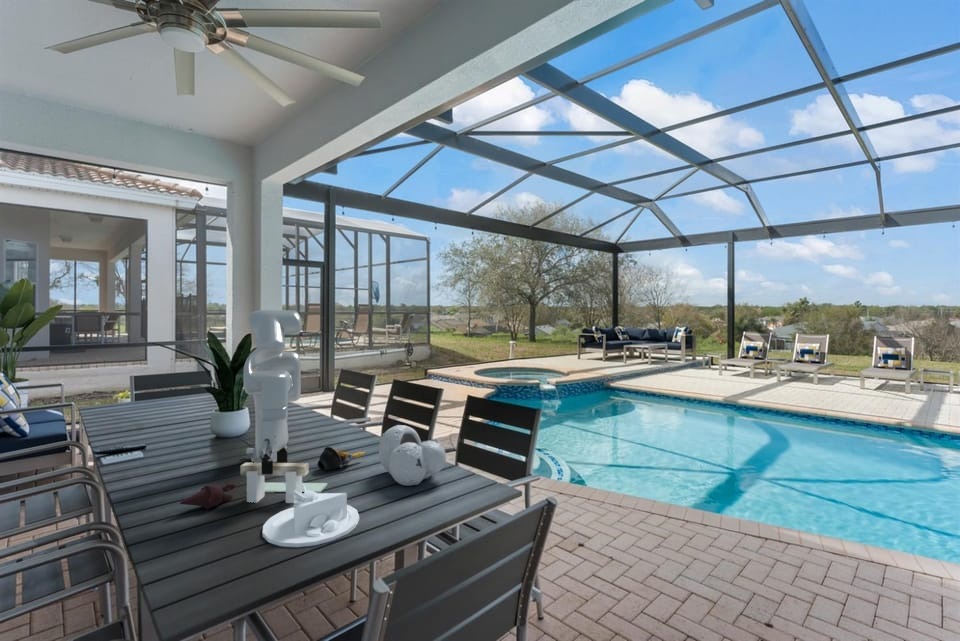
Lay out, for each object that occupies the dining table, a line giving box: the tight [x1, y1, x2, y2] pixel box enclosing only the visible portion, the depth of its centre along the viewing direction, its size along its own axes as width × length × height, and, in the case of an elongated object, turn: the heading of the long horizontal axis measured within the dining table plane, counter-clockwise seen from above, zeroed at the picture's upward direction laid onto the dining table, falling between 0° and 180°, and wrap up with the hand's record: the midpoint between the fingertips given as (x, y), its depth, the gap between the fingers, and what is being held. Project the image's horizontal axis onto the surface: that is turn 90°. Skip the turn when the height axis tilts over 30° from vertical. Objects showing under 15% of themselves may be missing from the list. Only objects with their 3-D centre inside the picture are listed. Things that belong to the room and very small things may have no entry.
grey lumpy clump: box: [378, 424, 447, 487], centre depth 161 cm, size 20×25×22 cm
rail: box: [239, 462, 310, 477], centre depth 142 cm, size 20×3×3 cm, turn 89°
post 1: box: [245, 471, 266, 504], centre depth 142 cm, size 3×5×10 cm, turn 179°
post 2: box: [284, 471, 303, 504], centre depth 142 cm, size 3×5×10 cm, turn 179°
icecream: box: [179, 482, 237, 510], centre depth 136 cm, size 7×7×15 cm
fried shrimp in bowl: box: [317, 446, 366, 472], centre depth 173 cm, size 9×11×18 cm
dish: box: [262, 480, 360, 548], centre depth 126 cm, size 25×25×11 cm
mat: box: [245, 482, 328, 493], centre depth 151 cm, size 24×7×1 cm, turn 89°
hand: (274, 468), depth 142 cm, fingers open, 9 cm apart
